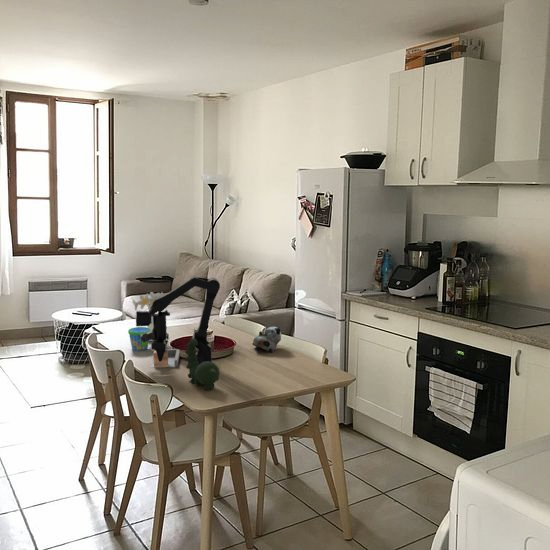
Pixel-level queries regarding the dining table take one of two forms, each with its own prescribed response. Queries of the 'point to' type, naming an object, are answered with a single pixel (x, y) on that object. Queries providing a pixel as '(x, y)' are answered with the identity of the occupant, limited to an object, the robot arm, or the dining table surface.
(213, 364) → the toy figurine
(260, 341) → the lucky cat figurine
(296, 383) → the dining table surface
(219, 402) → the dining table surface
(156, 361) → the terracotta block
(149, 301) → the flower vase
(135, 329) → the snack cup
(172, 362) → the two-wall tray
